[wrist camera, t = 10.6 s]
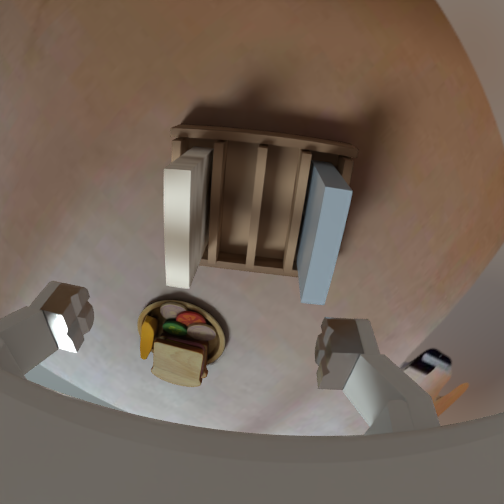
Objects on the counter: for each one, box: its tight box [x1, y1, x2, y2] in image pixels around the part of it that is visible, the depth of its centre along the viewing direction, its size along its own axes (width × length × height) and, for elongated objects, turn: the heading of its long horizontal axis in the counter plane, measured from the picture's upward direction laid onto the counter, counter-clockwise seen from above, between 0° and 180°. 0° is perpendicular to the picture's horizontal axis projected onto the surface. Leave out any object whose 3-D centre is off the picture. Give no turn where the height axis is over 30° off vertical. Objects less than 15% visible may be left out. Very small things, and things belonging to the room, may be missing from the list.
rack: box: [164, 124, 358, 289], centre depth 28 cm, size 14×17×10 cm
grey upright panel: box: [296, 160, 353, 305], centre depth 28 cm, size 10×2×9 cm, turn 174°
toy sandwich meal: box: [138, 300, 225, 387], centre depth 41 cm, size 12×14×5 cm
